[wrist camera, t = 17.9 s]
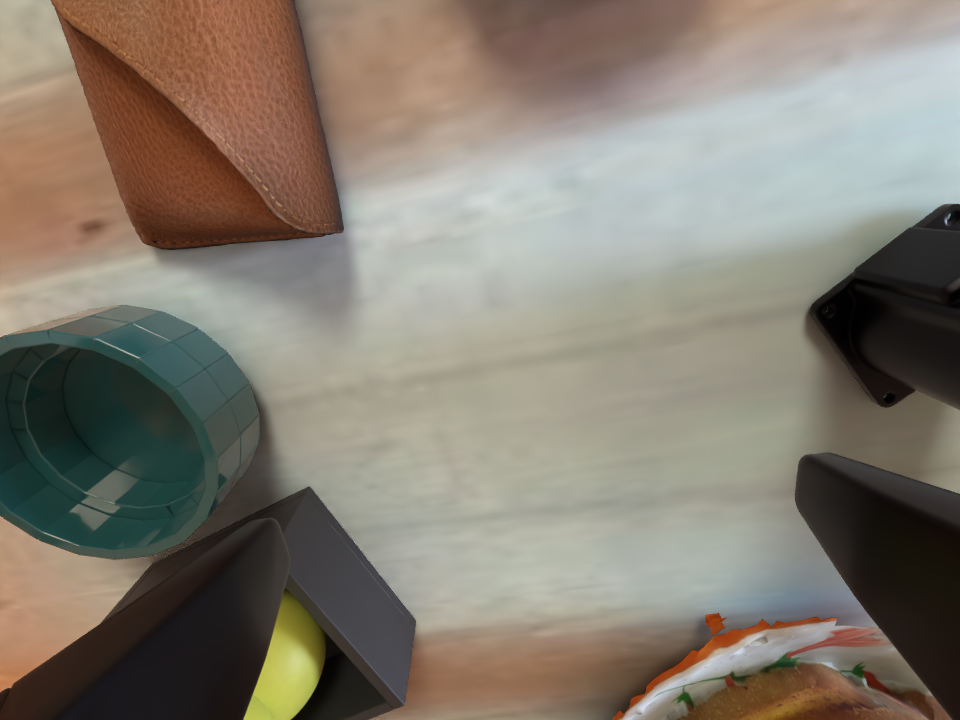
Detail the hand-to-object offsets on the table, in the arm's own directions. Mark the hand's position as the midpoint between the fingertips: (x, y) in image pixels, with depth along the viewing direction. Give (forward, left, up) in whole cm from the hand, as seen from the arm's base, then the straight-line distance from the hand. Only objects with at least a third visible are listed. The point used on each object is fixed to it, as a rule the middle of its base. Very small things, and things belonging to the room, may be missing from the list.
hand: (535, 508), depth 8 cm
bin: (-4, +19, -13) cm, 23 cm away
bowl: (+8, +14, -13) cm, 21 cm away
